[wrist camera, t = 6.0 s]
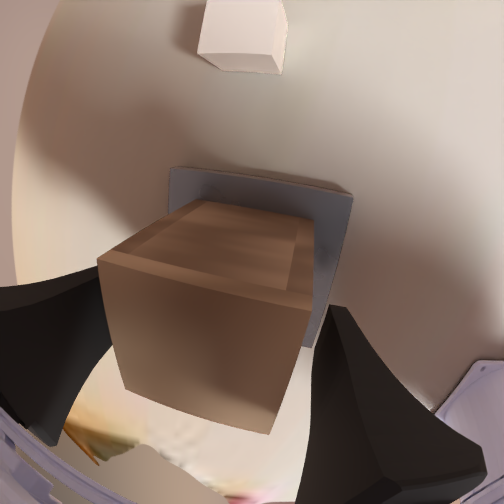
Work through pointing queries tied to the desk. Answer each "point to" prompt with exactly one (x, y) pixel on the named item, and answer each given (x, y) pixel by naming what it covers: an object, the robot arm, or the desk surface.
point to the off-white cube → (244, 35)
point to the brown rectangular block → (211, 310)
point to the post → (279, 201)
